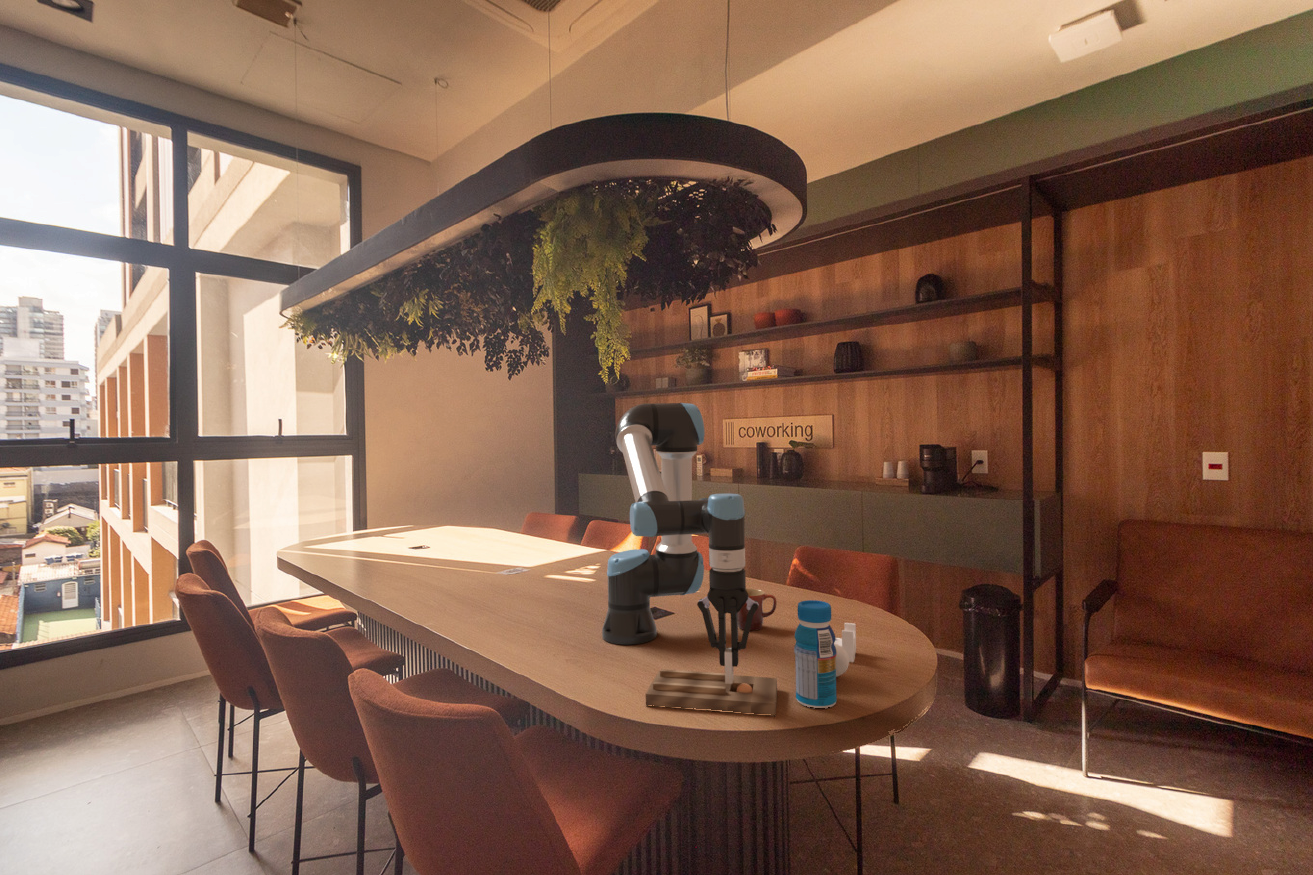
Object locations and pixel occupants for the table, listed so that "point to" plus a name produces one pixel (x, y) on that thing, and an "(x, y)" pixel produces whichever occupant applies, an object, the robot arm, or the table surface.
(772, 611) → the mug
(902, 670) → the table surface
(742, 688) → the ball
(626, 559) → the robot arm
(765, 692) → the lane board
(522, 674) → the table surface
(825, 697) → the beverage bottle
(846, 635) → the bracket
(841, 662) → the white knot
